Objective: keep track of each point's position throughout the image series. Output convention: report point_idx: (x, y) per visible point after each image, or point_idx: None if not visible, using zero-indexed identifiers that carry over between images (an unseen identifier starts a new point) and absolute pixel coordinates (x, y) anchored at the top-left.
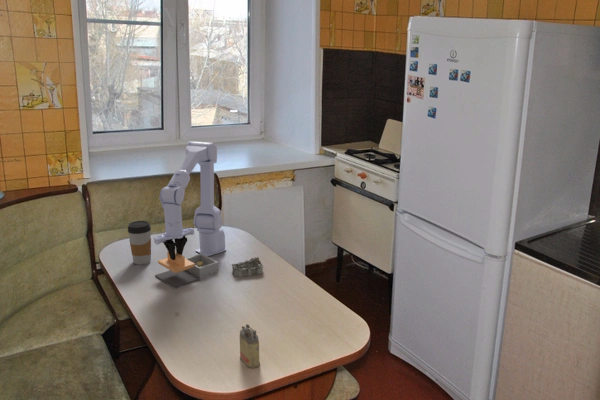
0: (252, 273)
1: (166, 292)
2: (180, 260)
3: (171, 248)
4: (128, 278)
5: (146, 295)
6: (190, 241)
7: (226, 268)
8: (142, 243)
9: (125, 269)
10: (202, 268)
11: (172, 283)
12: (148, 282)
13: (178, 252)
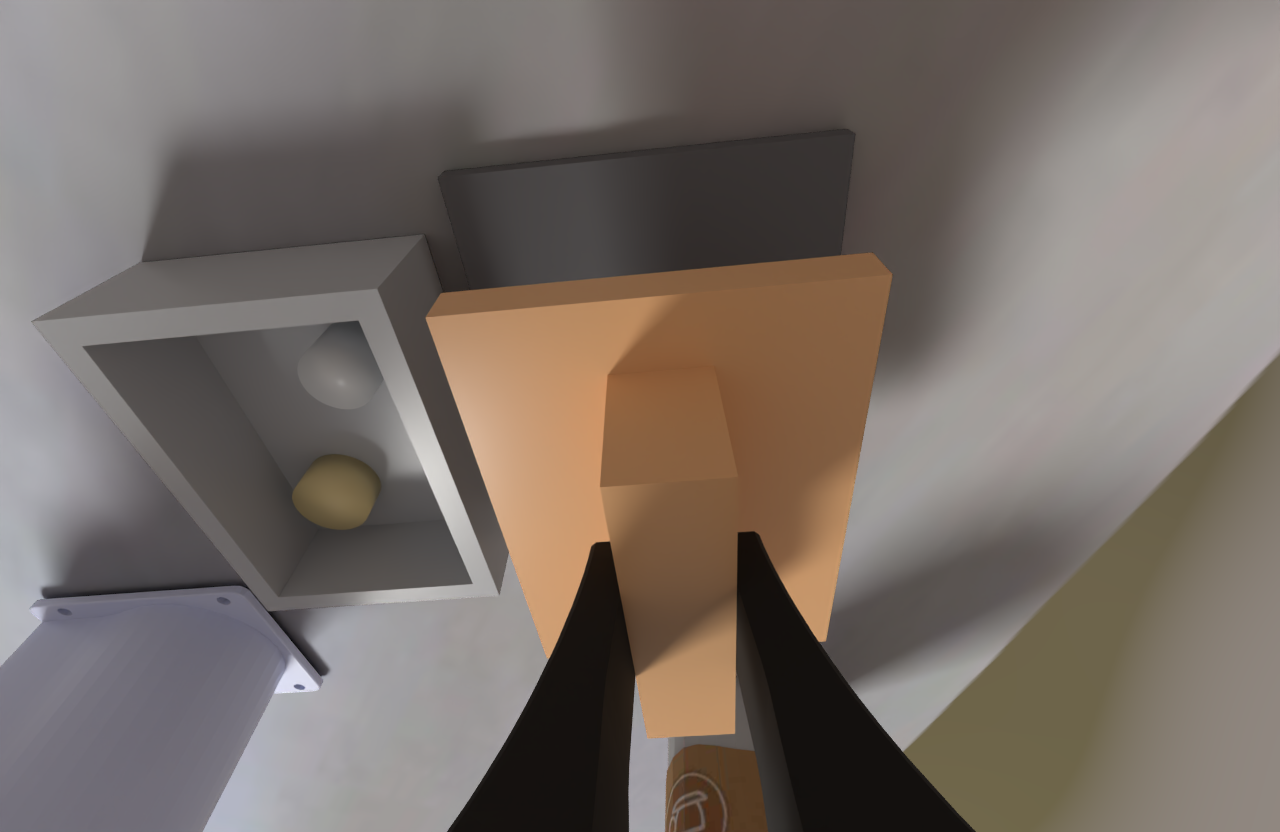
0: None
1: (999, 91)
2: (704, 437)
3: (925, 795)
4: (974, 576)
5: (1206, 180)
6: (328, 769)
7: (24, 276)
8: None
9: (879, 675)
10: (329, 287)
11: (808, 256)
12: (928, 445)
13: (624, 654)
